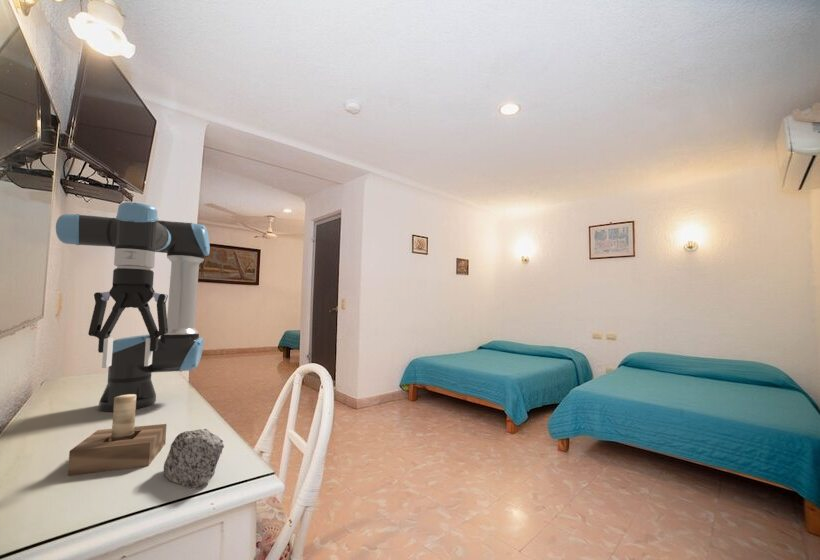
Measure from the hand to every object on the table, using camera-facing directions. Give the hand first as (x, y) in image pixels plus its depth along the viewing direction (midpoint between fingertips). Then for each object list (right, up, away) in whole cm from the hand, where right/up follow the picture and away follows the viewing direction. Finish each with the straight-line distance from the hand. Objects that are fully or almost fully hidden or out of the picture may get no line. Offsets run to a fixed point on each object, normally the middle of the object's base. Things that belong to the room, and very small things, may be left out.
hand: (127, 365), depth 81 cm
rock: (+20, -21, -8) cm, 31 cm away
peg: (0, -21, -1) cm, 21 cm away
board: (0, -21, -1) cm, 21 cm away
